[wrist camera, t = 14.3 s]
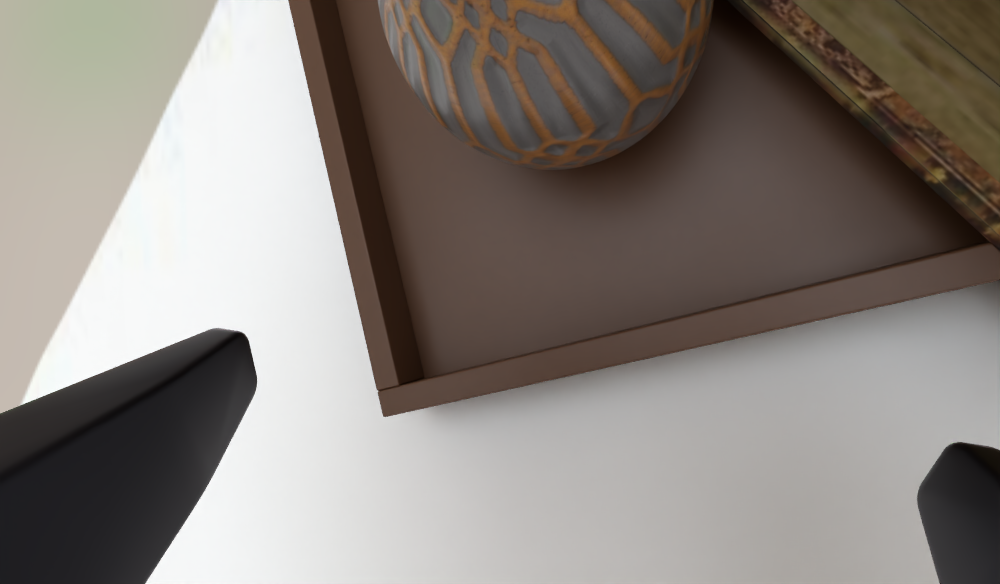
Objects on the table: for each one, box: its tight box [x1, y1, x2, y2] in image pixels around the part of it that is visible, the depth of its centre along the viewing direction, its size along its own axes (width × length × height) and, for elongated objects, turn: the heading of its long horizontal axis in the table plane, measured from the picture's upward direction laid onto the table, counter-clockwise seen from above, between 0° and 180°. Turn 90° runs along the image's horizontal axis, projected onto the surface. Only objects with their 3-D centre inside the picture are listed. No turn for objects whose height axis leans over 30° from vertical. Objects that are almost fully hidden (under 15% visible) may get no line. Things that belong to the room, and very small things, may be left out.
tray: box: [288, 0, 1000, 417], centre depth 16 cm, size 18×17×3 cm
